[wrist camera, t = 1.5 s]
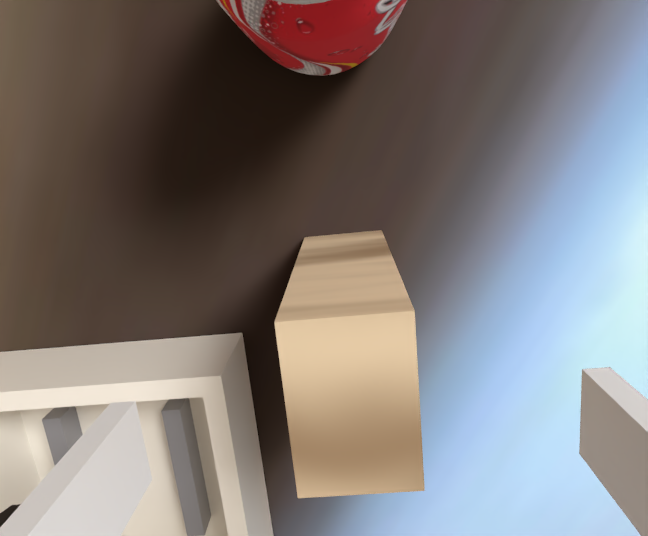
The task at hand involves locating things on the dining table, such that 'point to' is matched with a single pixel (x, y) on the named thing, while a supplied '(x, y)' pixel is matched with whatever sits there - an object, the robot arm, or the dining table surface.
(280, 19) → the soda can
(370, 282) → the light wood block
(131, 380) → the white slotted box
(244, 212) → the dining table surface
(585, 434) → the robot arm
